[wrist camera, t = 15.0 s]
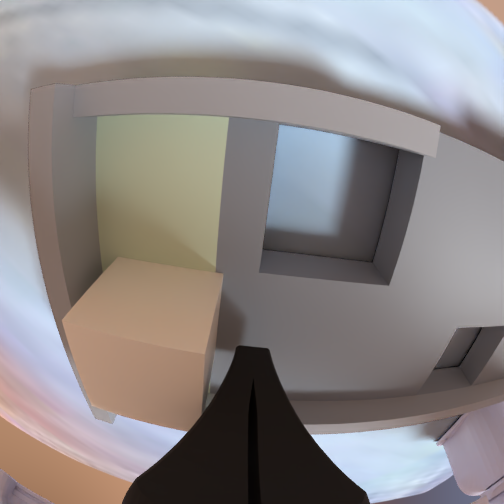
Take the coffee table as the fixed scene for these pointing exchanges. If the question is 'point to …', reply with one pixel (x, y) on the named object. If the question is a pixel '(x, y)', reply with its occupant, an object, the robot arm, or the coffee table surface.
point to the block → (147, 341)
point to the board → (274, 262)
